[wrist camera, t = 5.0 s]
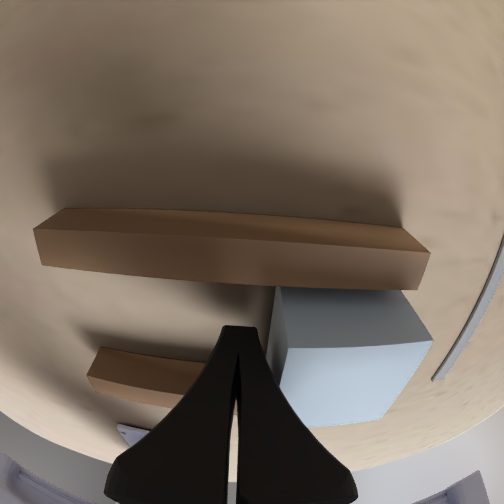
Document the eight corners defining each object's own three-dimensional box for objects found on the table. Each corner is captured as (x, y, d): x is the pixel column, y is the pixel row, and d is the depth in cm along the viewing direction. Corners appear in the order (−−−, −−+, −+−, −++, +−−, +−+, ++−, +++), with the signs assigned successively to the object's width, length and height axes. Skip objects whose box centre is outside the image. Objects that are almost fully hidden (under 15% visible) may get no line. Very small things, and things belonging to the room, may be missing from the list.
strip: (442, 377, 15) (443, 378, 15) (431, 379, 15) (432, 381, 15) (517, 224, 10) (520, 225, 9) (508, 221, 10) (510, 222, 9)
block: (359, 357, 13) (379, 419, 10) (265, 358, 13) (268, 428, 9) (391, 277, 11) (433, 340, 7) (278, 272, 11) (288, 348, 7)
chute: (345, 381, 14) (353, 411, 12) (107, 364, 14) (95, 391, 12) (403, 228, 10) (430, 253, 8) (63, 208, 10) (33, 229, 8)
